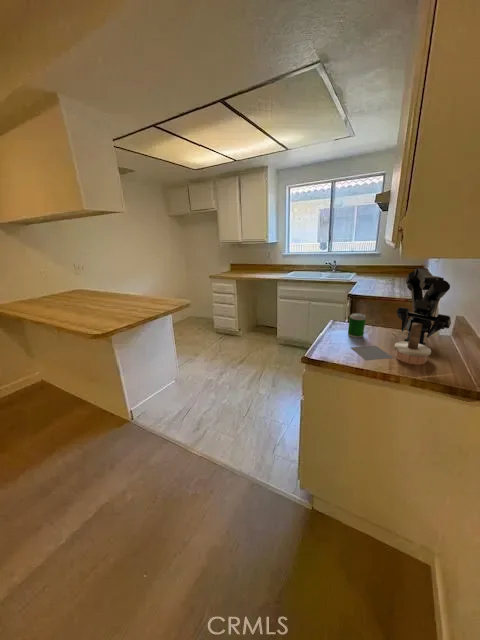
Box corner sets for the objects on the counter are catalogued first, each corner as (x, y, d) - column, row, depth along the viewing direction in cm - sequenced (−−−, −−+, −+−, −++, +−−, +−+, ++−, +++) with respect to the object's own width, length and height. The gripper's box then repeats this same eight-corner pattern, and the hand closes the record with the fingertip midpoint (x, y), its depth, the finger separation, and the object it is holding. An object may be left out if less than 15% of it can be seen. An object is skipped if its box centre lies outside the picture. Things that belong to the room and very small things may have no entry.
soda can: (361, 340, 134) (364, 317, 130) (345, 337, 138) (348, 315, 134) (364, 335, 139) (367, 314, 135) (350, 332, 144) (352, 311, 140)
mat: (349, 348, 125) (349, 347, 125) (375, 346, 126) (375, 345, 126) (365, 361, 112) (365, 360, 112) (393, 359, 114) (393, 357, 114)
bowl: (389, 354, 118) (391, 345, 116) (412, 352, 119) (414, 343, 118) (407, 366, 107) (409, 356, 106) (432, 364, 109) (434, 354, 107)
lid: (387, 344, 117) (391, 320, 114) (414, 342, 119) (419, 318, 115) (409, 357, 105) (414, 330, 101) (438, 355, 106) (445, 328, 103)
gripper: (401, 288, 113) (386, 318, 110) (455, 295, 100) (439, 330, 97) (406, 303, 121) (391, 331, 118) (456, 311, 107) (442, 344, 104)
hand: (414, 334), depth 109 cm, fingers open, 9 cm apart
